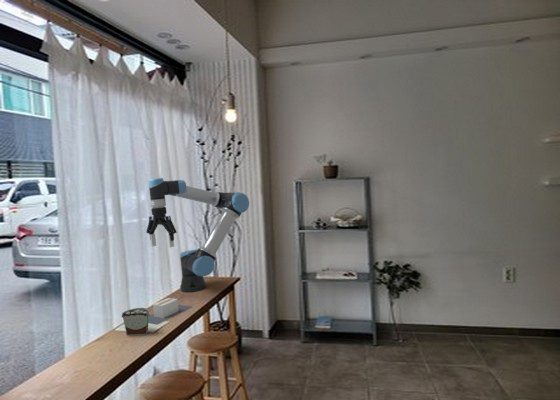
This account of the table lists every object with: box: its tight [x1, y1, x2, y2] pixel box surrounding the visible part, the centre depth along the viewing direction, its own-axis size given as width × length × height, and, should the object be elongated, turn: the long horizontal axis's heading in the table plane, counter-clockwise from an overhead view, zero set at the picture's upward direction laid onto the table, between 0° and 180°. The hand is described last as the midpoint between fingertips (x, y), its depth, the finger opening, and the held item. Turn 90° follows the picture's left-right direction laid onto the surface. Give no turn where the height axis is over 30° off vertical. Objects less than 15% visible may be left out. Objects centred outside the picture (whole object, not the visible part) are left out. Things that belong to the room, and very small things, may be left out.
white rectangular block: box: [152, 297, 179, 318], centre depth 193 cm, size 10×6×6 cm, turn 150°
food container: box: [121, 307, 151, 336], centre depth 173 cm, size 12×6×10 cm, turn 84°
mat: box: [148, 304, 193, 325], centre depth 193 cm, size 24×13×1 cm, turn 150°
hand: (162, 246), depth 210 cm, fingers open, 13 cm apart
